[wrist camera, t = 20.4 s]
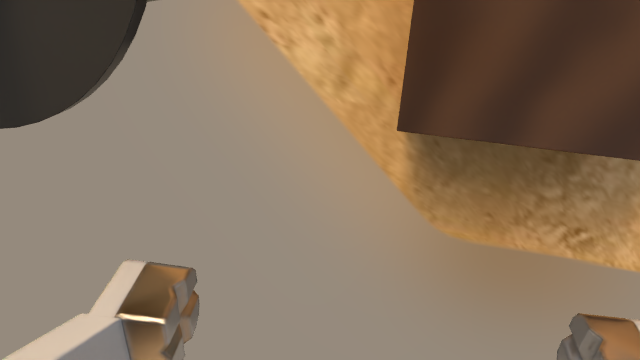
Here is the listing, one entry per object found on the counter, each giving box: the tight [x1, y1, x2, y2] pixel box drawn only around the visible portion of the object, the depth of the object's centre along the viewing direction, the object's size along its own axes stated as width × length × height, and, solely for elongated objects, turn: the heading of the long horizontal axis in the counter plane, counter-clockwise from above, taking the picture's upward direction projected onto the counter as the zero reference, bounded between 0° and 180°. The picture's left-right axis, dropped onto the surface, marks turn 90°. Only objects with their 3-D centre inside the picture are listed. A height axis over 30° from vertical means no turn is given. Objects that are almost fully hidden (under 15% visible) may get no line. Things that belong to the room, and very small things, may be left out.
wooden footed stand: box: [397, 0, 640, 161], centre depth 30 cm, size 14×12×6 cm
